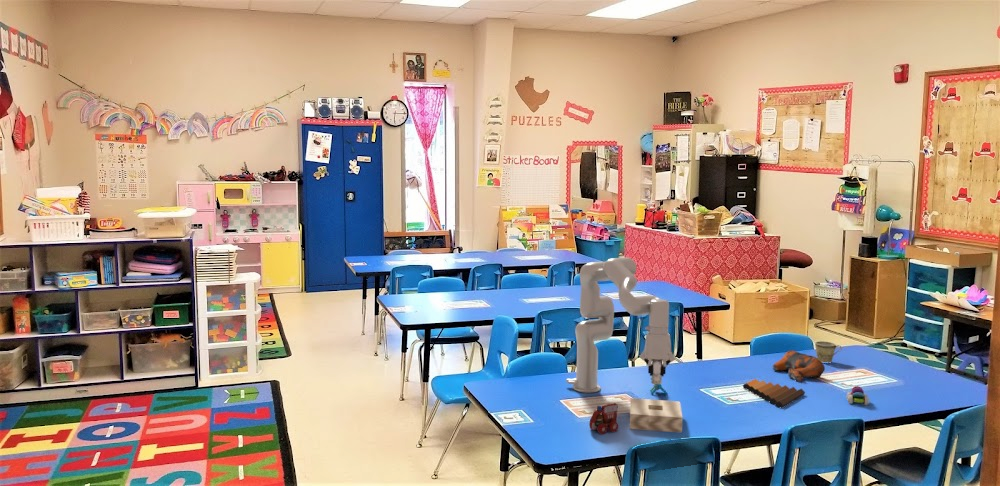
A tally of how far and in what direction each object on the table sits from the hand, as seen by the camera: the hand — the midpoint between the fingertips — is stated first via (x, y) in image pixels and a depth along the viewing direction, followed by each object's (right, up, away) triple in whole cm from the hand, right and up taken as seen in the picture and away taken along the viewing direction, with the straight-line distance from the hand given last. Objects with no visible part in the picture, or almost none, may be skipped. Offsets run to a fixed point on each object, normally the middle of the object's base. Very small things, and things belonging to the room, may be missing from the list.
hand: (656, 374), depth 307 cm
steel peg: (0, -3, 0) cm, 3 cm away
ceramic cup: (+109, -10, +97) cm, 146 cm away
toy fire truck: (-22, -21, -8) cm, 31 cm away
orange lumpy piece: (+83, -13, +74) cm, 112 cm away
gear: (+9, -16, +39) cm, 43 cm away
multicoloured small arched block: (+94, -18, +31) cm, 101 cm away
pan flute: (+57, -17, +39) cm, 71 cm away
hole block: (0, -19, +2) cm, 19 cm away
